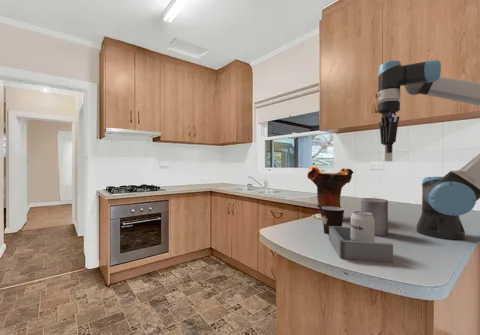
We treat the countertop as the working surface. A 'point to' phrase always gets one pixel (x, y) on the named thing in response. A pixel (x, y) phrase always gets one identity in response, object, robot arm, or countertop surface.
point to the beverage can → (362, 226)
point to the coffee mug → (332, 217)
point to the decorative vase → (329, 187)
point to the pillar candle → (377, 213)
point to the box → (358, 246)
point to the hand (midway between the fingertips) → (387, 161)
